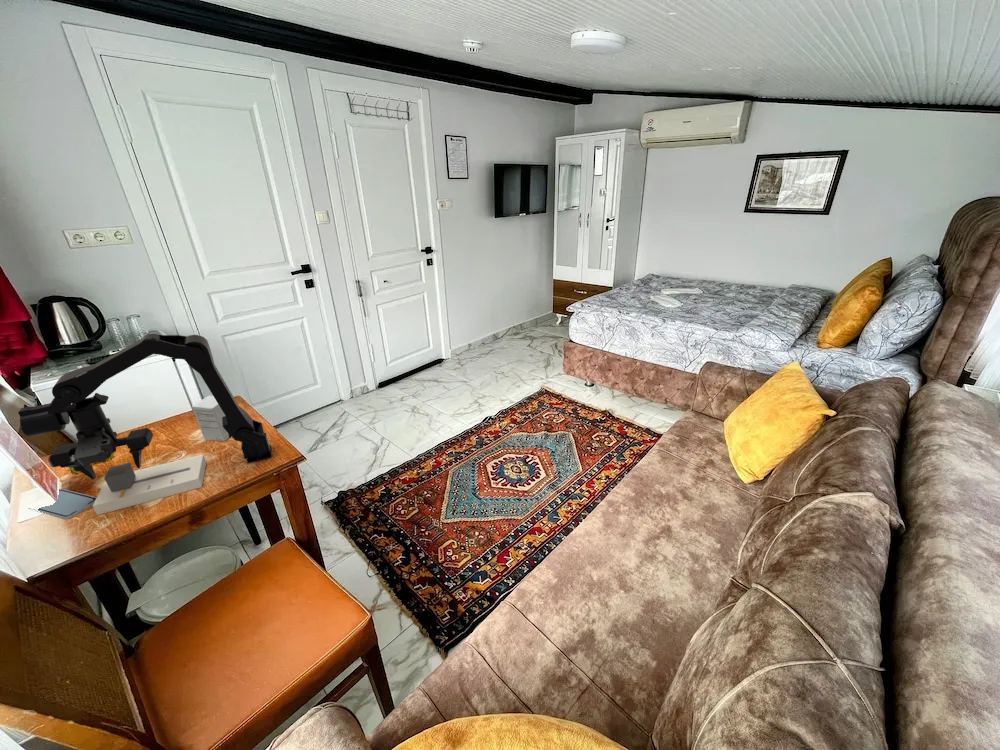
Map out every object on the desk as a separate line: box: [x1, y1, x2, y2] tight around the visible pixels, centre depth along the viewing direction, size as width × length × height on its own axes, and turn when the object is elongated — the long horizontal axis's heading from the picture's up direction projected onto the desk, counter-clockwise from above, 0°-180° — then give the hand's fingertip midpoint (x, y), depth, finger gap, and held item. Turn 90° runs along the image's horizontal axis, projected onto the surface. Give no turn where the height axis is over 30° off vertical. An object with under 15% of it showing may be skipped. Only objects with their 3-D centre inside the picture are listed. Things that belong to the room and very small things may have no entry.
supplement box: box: [191, 395, 229, 442], centre depth 132 cm, size 7×7×13 cm
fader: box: [103, 462, 136, 492], centre depth 107 cm, size 4×5×4 cm
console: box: [92, 454, 207, 516], centre depth 111 cm, size 22×12×3 cm, turn 117°
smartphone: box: [37, 488, 97, 520], centre depth 106 cm, size 7×1×15 cm
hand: (117, 472), depth 106 cm, fingers open, 9 cm apart
